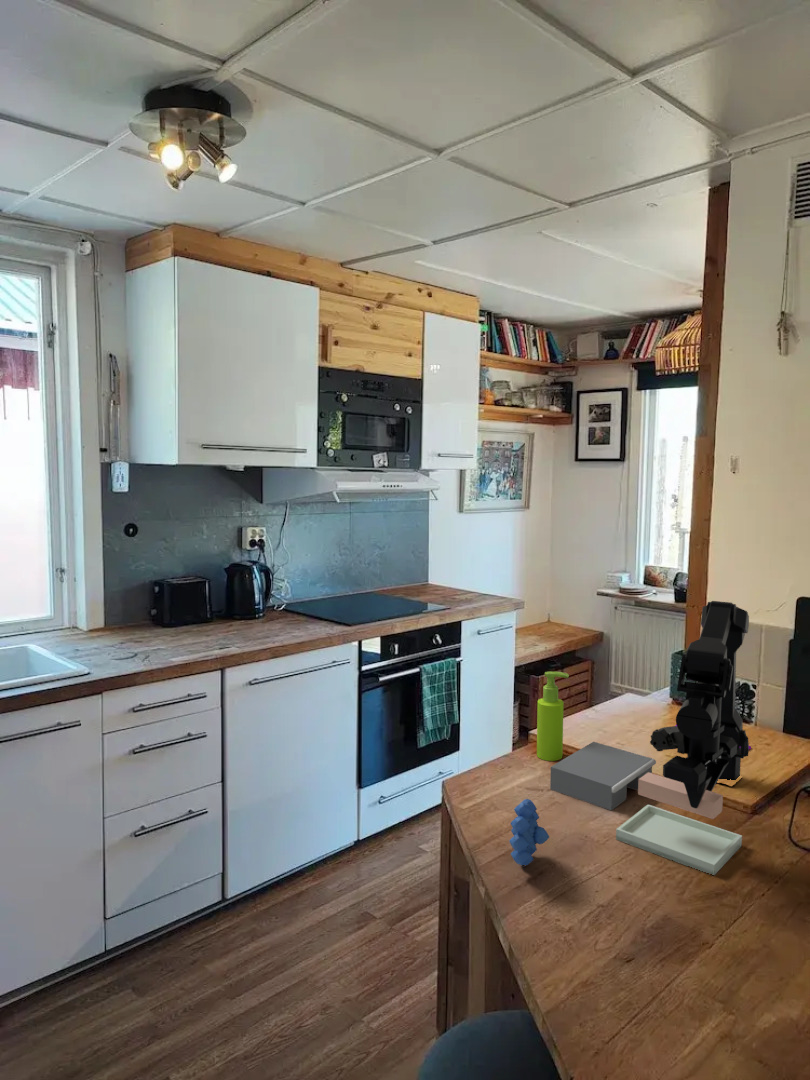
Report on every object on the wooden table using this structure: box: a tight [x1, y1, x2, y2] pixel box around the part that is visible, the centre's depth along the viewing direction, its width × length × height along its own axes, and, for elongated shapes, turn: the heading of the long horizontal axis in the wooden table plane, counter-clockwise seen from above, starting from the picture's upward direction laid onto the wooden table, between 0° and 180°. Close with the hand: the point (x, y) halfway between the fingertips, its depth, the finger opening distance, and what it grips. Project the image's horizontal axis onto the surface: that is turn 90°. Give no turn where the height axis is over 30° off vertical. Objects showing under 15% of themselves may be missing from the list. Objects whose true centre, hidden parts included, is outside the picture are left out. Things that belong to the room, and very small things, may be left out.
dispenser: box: [549, 741, 657, 811], centre depth 165 cm, size 15×18×5 cm
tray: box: [615, 804, 743, 876], centre depth 142 cm, size 18×13×2 cm
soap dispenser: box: [536, 671, 570, 762], centre depth 180 cm, size 6×7×20 cm
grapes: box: [508, 798, 550, 867], centre depth 134 cm, size 12×7×12 cm, turn 159°
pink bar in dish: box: [637, 772, 724, 820], centre depth 141 cm, size 14×4×3 cm, turn 47°
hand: (699, 803), depth 139 cm, fingers closed on pink bar in dish, 4 cm apart
